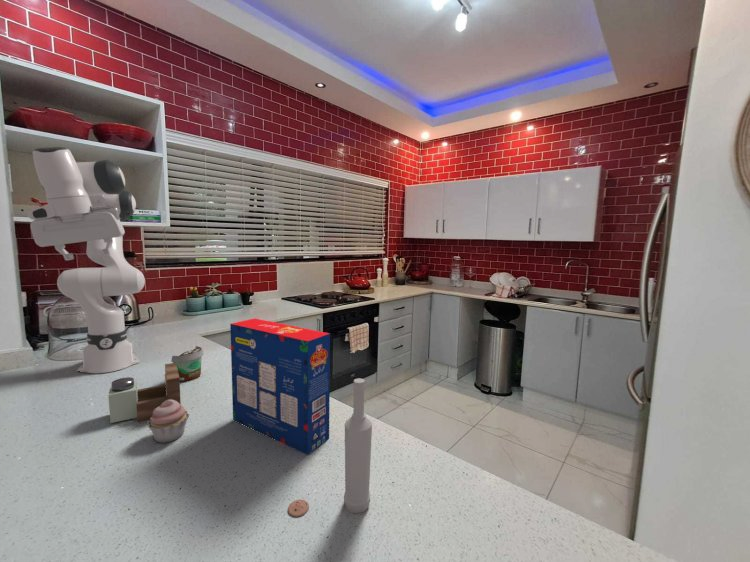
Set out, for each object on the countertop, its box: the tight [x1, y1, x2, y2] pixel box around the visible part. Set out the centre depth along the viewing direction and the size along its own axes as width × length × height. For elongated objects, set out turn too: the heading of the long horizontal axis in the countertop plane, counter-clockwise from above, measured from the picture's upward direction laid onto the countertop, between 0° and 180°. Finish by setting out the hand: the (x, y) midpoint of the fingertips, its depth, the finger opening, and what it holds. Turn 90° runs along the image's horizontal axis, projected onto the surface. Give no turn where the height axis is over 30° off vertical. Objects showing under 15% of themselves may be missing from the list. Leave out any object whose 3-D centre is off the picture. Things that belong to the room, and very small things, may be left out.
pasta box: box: [229, 317, 331, 456], centre depth 88 cm, size 28×8×28 cm, turn 59°
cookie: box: [287, 499, 310, 518], centre depth 63 cm, size 4×4×1 cm
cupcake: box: [146, 400, 190, 444], centre depth 84 cm, size 9×9×10 cm
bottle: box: [343, 377, 373, 514], centre depth 63 cm, size 5×5×25 cm
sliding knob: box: [107, 376, 138, 424], centre depth 94 cm, size 7×6×10 cm
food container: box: [171, 345, 205, 383], centre depth 121 cm, size 12×6×10 cm, turn 168°
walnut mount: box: [133, 362, 182, 423], centre depth 98 cm, size 14×11×11 cm
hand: (89, 257), depth 96 cm, fingers open, 8 cm apart
